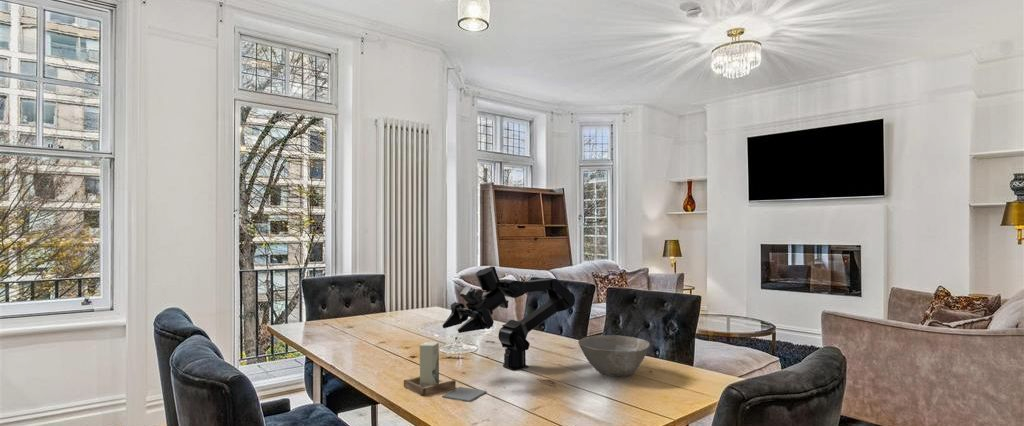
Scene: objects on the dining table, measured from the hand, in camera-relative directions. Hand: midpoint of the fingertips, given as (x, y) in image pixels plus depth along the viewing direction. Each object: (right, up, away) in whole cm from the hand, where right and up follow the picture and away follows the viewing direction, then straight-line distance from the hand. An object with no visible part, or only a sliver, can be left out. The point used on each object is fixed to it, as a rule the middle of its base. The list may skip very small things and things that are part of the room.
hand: (450, 329), depth 160 cm
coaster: (+6, -15, -13) cm, 21 cm away
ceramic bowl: (+52, -16, +6) cm, 54 cm away
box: (-5, -16, -6) cm, 18 cm away
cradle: (-5, -16, -6) cm, 18 cm away
